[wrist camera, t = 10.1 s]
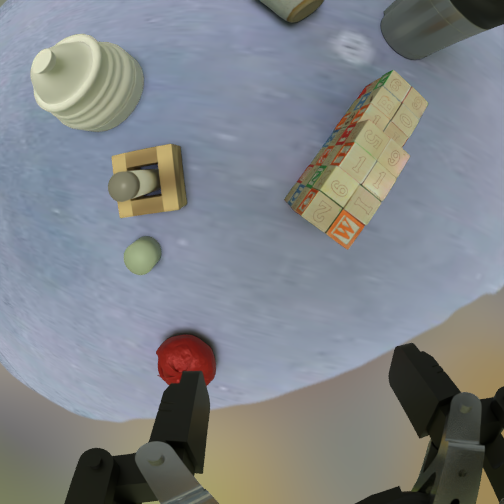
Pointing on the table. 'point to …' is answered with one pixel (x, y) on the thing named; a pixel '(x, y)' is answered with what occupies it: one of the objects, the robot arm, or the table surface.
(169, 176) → the bead block
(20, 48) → the table surface
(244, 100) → the table surface
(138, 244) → the bead
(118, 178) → the cream capped cylinder
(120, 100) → the honey pot
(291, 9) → the ceramic mug
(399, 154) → the stack of blocks
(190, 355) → the pomegranate
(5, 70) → the table surface
